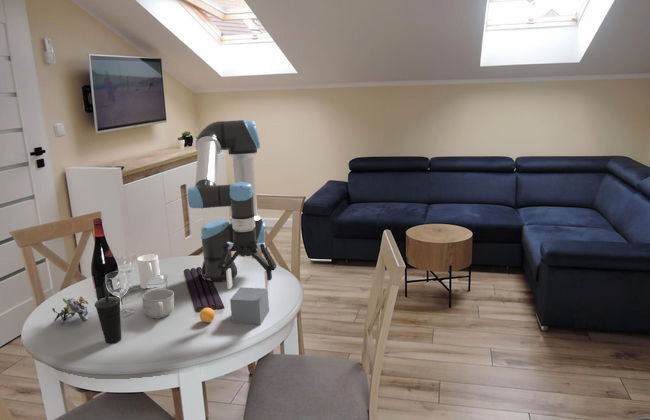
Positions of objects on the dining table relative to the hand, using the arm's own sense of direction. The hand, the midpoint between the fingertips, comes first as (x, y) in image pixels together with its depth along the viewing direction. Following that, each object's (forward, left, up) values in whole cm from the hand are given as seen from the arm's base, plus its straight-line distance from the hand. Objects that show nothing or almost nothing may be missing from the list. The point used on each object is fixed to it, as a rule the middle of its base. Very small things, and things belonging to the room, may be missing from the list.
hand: (248, 288), depth 176 cm
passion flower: (+11, -62, -11) cm, 64 cm away
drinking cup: (+21, -40, -11) cm, 47 cm away
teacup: (+3, -33, -11) cm, 35 cm away
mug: (-22, -50, -11) cm, 56 cm away
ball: (+5, -14, -9) cm, 17 cm away
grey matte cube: (0, 0, -11) cm, 11 cm away
